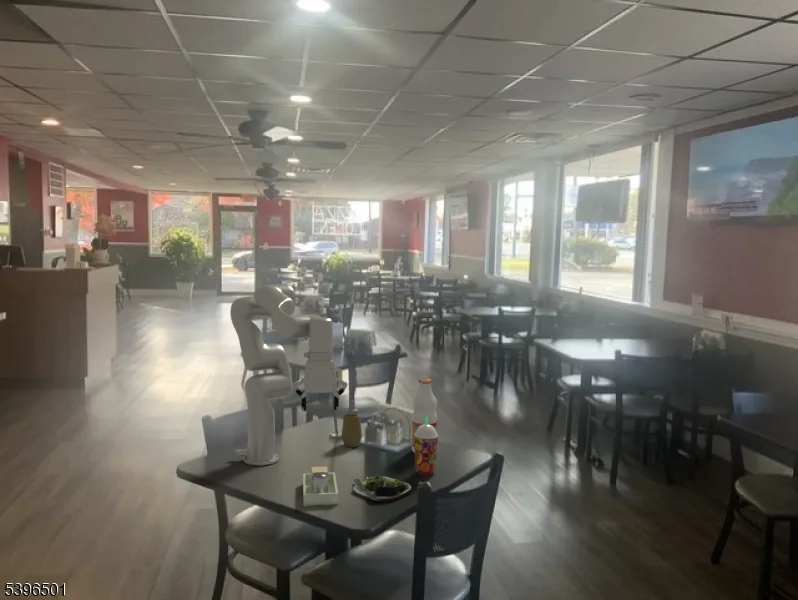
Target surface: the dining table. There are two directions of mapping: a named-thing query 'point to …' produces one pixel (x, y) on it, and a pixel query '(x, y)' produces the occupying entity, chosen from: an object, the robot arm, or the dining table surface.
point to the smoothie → (425, 449)
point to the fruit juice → (424, 408)
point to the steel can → (320, 482)
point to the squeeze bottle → (351, 427)
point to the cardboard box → (318, 469)
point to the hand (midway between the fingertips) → (320, 409)
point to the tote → (320, 498)
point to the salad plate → (382, 489)
